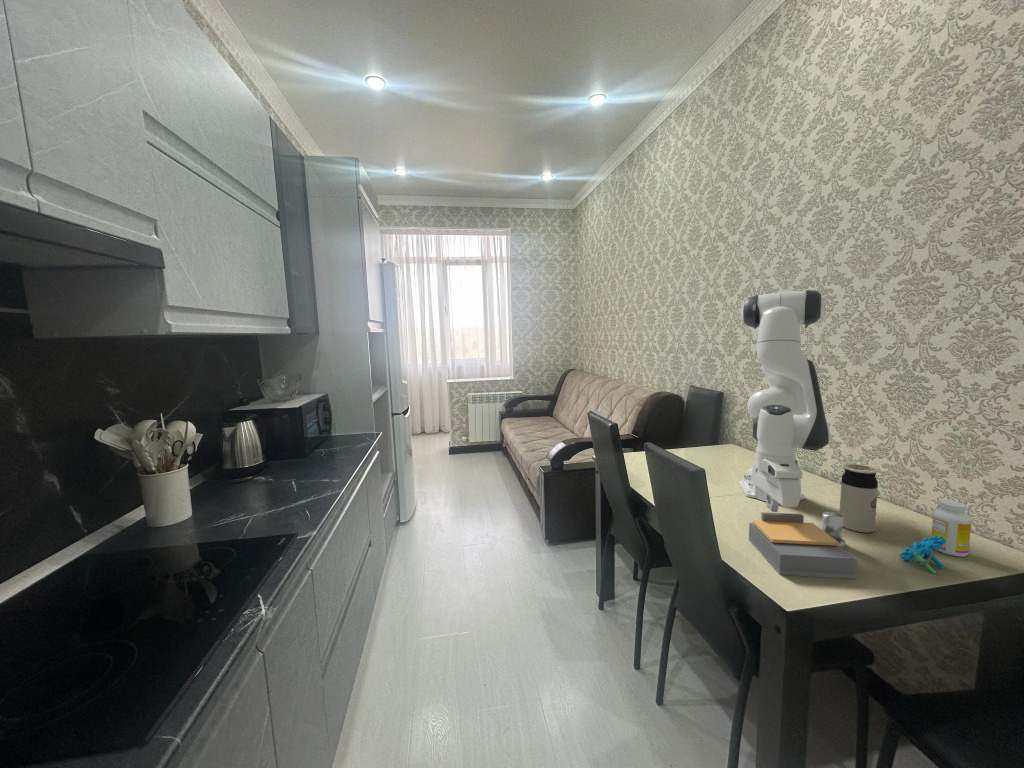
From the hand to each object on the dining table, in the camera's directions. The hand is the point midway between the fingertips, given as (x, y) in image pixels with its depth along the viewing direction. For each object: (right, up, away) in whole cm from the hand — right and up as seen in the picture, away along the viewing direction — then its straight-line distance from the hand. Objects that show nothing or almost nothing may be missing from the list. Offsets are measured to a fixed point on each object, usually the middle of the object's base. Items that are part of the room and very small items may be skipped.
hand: (772, 509), depth 114 cm
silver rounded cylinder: (+12, -7, -6) cm, 16 cm away
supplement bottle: (+39, -7, -11) cm, 41 cm away
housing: (-2, -8, -12) cm, 15 cm away
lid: (-2, -3, -10) cm, 11 cm away
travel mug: (+27, -6, +3) cm, 28 cm away
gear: (+26, -8, -16) cm, 32 cm away
